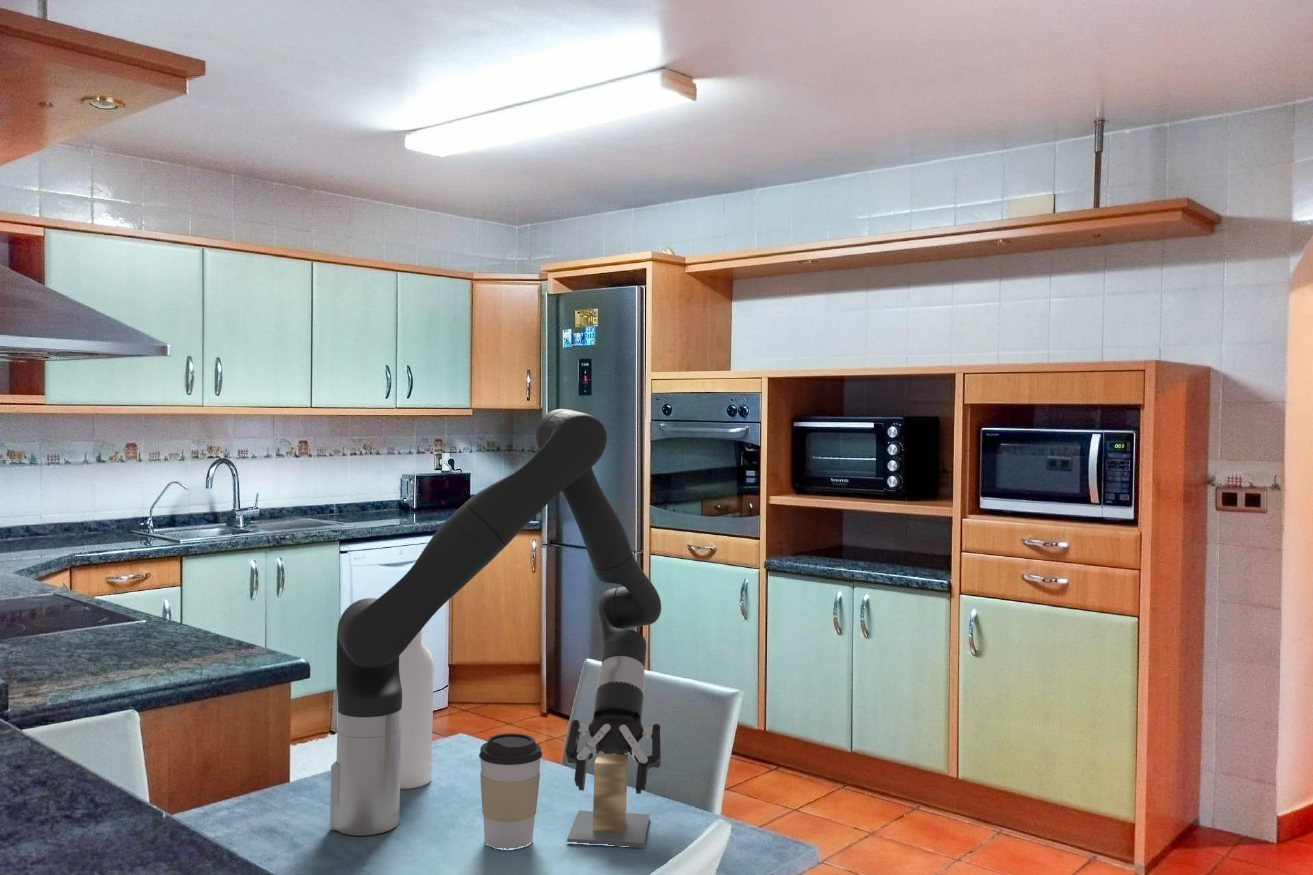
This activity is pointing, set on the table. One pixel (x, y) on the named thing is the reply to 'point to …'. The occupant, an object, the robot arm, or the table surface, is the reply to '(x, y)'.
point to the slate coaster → (629, 837)
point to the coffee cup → (509, 789)
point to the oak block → (610, 792)
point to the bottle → (416, 714)
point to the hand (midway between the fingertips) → (609, 789)
